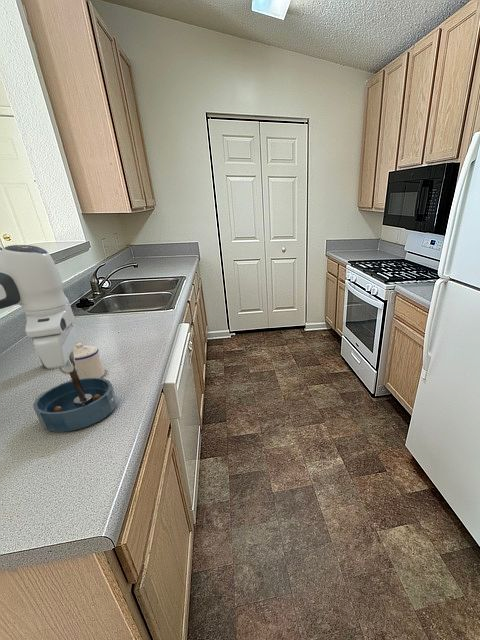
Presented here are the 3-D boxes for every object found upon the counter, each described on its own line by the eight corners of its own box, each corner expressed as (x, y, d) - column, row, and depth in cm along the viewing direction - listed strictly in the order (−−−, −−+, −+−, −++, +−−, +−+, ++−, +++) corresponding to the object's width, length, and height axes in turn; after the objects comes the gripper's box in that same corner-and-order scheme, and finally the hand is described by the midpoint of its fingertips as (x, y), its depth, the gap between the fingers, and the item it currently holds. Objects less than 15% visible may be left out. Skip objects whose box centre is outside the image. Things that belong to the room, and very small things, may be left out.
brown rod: (75, 413, 88) (50, 351, 79) (78, 405, 91) (54, 344, 83) (94, 409, 89) (71, 348, 81) (96, 401, 93) (74, 341, 84)
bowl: (34, 441, 80) (24, 421, 77) (51, 403, 94) (43, 385, 92) (114, 422, 86) (108, 403, 83) (119, 389, 100) (113, 372, 98)
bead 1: (54, 415, 88) (51, 409, 87) (55, 411, 90) (53, 405, 89) (62, 413, 89) (60, 407, 88) (64, 410, 90) (61, 403, 90)
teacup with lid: (105, 367, 114) (95, 336, 109) (106, 378, 107) (95, 345, 101) (64, 376, 109) (51, 344, 103) (62, 388, 102) (48, 354, 96)
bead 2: (94, 402, 93) (92, 396, 92) (95, 399, 95) (93, 393, 94) (102, 401, 94) (100, 395, 93) (102, 397, 96) (101, 391, 95)
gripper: (46, 306, 86) (65, 354, 92) (22, 333, 69) (46, 390, 75) (74, 303, 88) (90, 350, 94) (57, 329, 71) (78, 384, 77)
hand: (71, 368), depth 85 cm, fingers closed on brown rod
